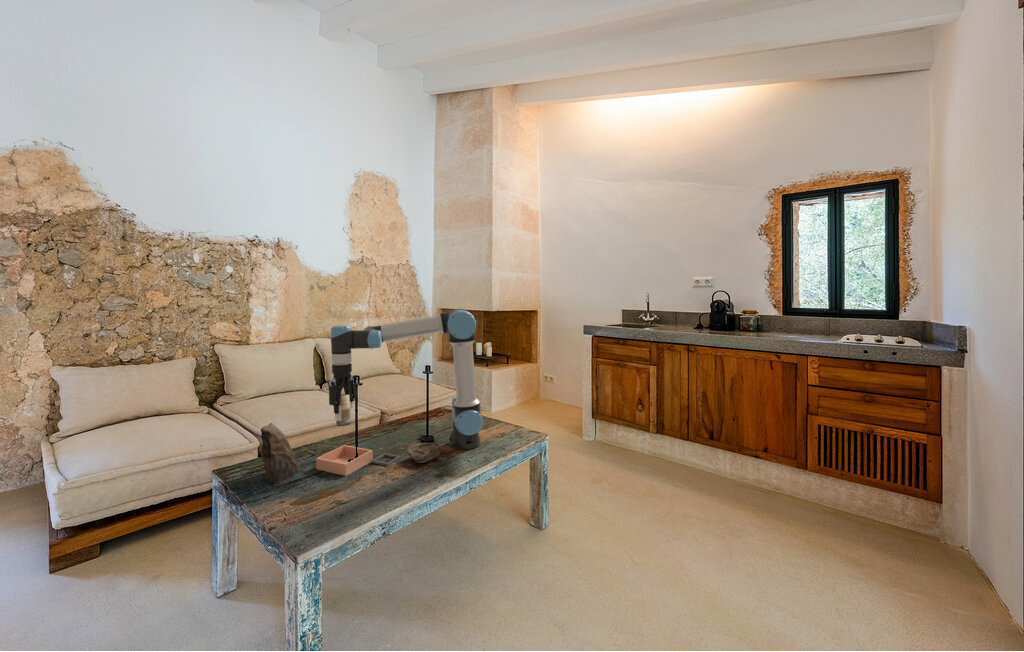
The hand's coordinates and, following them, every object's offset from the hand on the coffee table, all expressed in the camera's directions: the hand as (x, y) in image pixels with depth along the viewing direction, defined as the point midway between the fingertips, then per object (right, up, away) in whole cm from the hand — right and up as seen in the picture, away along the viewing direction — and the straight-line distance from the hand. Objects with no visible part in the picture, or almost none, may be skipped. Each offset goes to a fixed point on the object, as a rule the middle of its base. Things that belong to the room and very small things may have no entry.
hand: (343, 418), depth 173 cm
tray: (0, -20, +2) cm, 20 cm away
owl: (-21, -21, -8) cm, 31 cm away
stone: (+32, -20, +8) cm, 38 cm away
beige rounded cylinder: (0, -2, 0) cm, 2 cm away
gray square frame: (+16, -19, +6) cm, 26 cm away
